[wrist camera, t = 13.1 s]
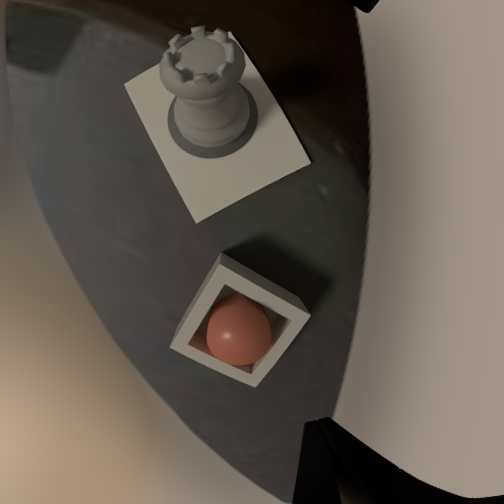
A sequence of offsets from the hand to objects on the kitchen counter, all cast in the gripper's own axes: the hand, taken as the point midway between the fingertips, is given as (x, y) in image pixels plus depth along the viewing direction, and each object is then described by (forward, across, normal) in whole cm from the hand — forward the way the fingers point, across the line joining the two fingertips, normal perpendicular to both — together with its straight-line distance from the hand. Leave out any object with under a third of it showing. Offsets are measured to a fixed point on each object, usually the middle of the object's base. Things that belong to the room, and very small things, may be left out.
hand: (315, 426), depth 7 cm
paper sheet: (+11, +2, -13) cm, 17 cm away
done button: (+10, +2, 0) cm, 10 cm away
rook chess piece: (+11, +2, -13) cm, 17 cm away
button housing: (+11, +2, 0) cm, 11 cm away
